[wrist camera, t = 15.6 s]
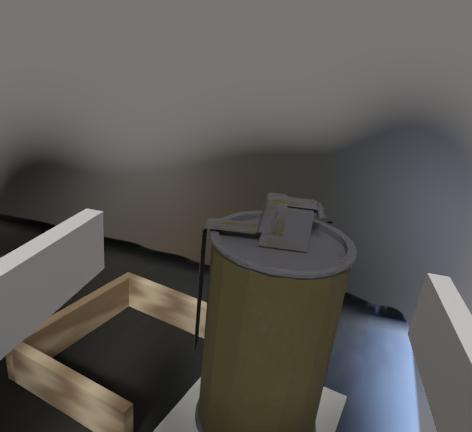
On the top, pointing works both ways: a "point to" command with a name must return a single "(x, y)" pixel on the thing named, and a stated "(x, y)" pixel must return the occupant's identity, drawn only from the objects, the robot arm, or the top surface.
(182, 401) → the mat
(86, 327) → the tan low open frame
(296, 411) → the canister
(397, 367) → the top surface
